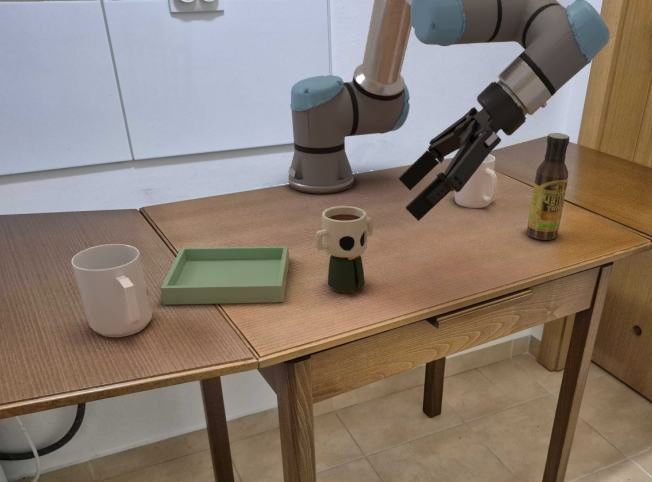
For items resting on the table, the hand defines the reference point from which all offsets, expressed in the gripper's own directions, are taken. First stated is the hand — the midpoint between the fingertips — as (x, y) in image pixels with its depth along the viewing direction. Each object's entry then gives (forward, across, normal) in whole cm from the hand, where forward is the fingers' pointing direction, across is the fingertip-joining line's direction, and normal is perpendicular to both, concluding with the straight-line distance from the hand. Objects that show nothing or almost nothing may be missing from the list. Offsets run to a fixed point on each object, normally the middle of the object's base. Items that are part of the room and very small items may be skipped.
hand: (407, 198), depth 101 cm
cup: (-3, +39, -25) cm, 46 cm away
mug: (+41, -12, +19) cm, 47 cm away
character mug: (+18, 0, -4) cm, 19 cm away
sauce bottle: (-10, +21, -32) cm, 39 cm away
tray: (+32, +3, +10) cm, 33 cm away
